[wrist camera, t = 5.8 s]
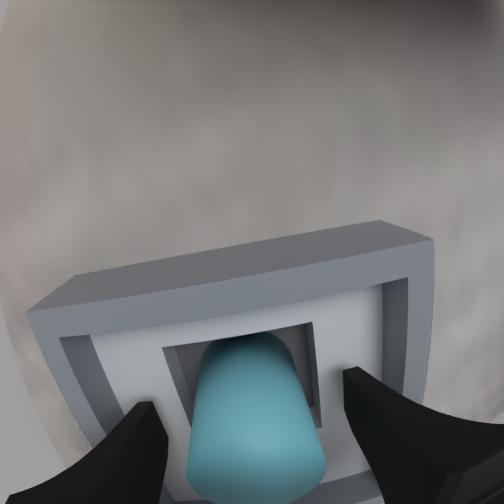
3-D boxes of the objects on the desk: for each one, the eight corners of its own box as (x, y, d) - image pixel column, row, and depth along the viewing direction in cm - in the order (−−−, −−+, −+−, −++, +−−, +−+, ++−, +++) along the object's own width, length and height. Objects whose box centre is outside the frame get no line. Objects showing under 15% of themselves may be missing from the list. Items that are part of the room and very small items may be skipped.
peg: (290, 322, 13) (329, 421, 7) (294, 397, 14) (324, 499, 8) (192, 333, 13) (170, 438, 7) (208, 407, 14) (202, 512, 8)
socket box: (379, 220, 13) (433, 239, 9) (376, 450, 16) (399, 496, 12) (74, 276, 12) (26, 312, 8) (168, 485, 16) (161, 534, 12)
